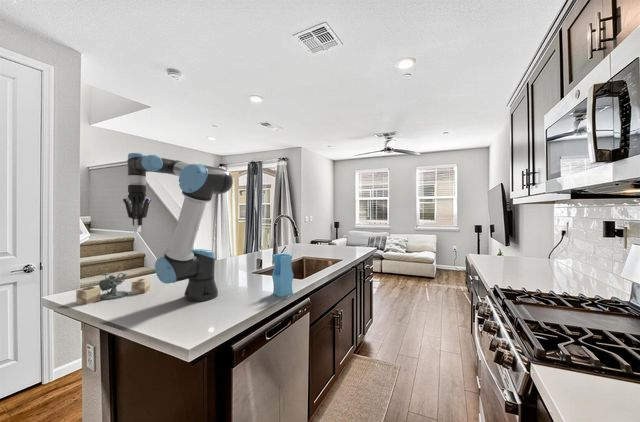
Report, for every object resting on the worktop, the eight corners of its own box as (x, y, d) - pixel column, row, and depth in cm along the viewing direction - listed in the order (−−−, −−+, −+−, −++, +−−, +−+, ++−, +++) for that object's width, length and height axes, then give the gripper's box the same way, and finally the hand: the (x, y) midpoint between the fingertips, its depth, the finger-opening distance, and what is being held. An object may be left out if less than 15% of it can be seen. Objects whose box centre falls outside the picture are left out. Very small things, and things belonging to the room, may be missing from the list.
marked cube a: (149, 290, 143) (149, 278, 143) (144, 293, 138) (144, 281, 138) (136, 290, 142) (137, 278, 142) (131, 294, 136) (131, 281, 136)
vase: (271, 293, 141) (272, 254, 140) (284, 290, 146) (284, 253, 146) (280, 297, 135) (280, 256, 134) (293, 294, 140) (293, 255, 140)
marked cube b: (100, 300, 127) (100, 286, 127) (86, 304, 121) (86, 290, 121) (90, 299, 128) (90, 285, 128) (76, 303, 123) (76, 289, 122)
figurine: (115, 300, 127) (116, 274, 127) (93, 299, 127) (93, 274, 127) (131, 293, 138) (132, 269, 138) (110, 292, 138) (110, 269, 138)
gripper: (154, 185, 140) (155, 231, 140) (129, 185, 140) (129, 231, 140) (145, 183, 132) (145, 232, 132) (118, 184, 133) (119, 232, 132)
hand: (137, 232), depth 136 cm, fingers closed
